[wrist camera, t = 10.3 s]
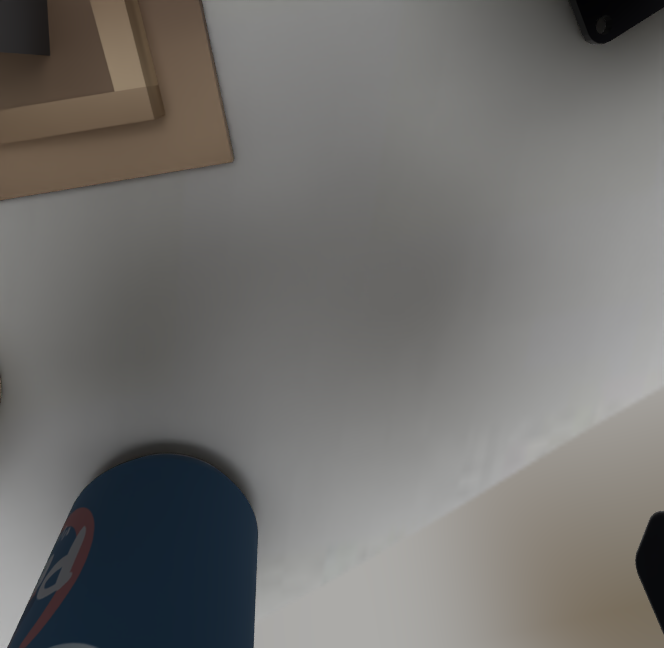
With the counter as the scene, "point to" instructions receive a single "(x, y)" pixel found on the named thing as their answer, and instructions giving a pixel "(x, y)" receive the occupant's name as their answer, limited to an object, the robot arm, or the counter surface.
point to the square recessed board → (111, 98)
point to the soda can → (149, 563)
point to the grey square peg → (24, 27)
